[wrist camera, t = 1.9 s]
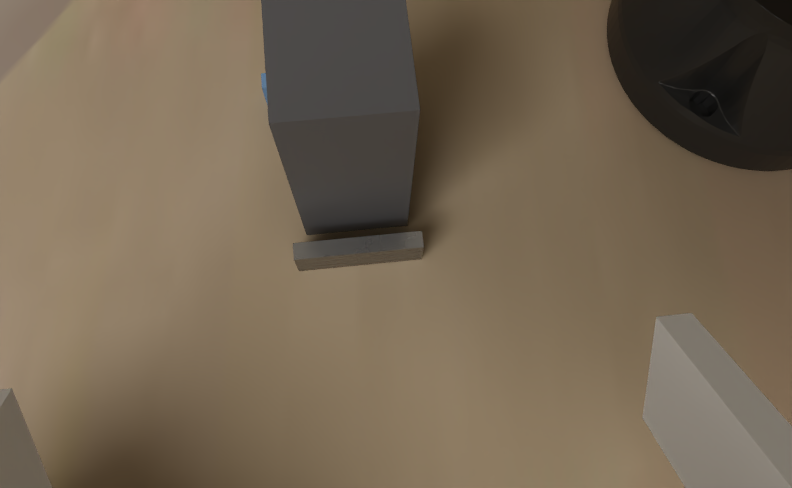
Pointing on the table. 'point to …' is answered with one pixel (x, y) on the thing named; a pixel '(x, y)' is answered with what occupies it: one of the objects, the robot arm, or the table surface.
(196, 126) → the table surface
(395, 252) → the pair of grey bars
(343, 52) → the dark grey rectangular block
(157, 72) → the table surface
